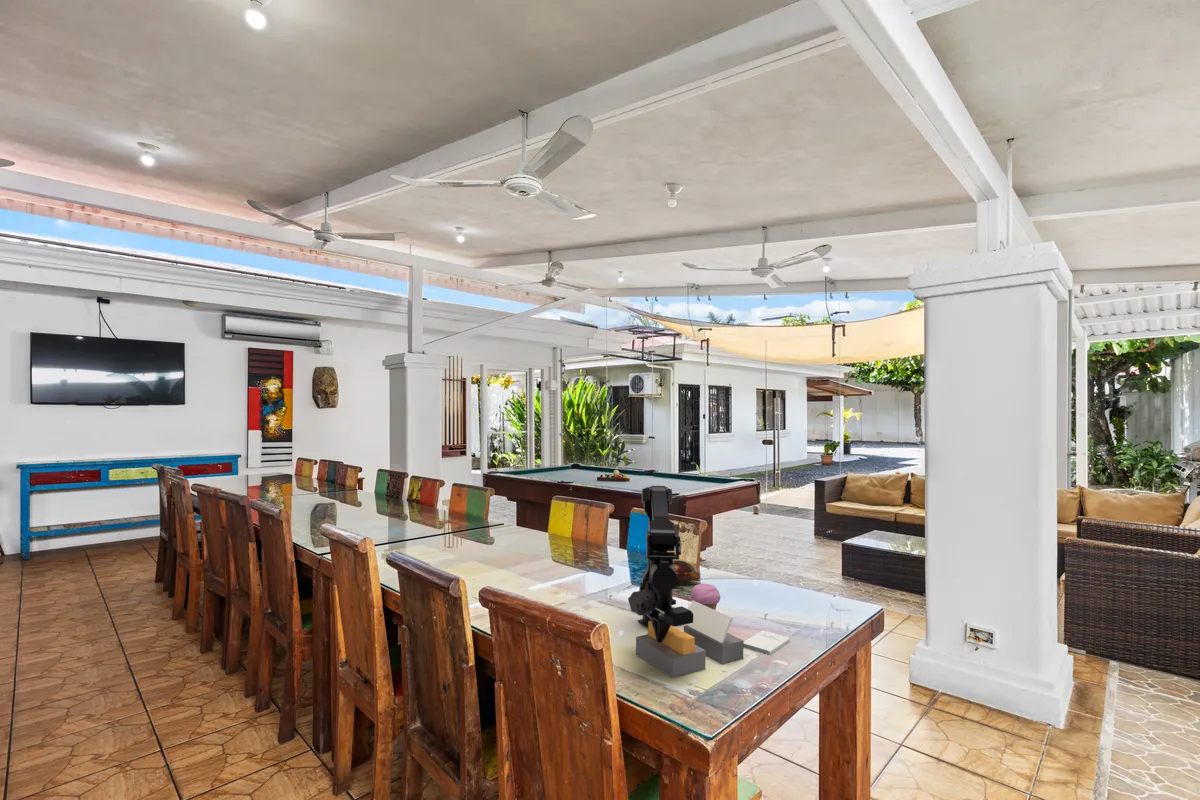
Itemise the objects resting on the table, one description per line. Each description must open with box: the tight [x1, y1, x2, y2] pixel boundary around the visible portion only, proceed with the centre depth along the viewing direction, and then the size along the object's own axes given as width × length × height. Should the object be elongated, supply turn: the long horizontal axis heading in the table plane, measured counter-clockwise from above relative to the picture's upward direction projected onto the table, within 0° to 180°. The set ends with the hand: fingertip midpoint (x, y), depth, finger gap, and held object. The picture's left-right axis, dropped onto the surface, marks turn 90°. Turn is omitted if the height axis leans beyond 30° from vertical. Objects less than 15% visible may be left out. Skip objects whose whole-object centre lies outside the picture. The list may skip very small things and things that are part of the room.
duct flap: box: [684, 599, 733, 643], centre depth 158 cm, size 15×6×1 cm
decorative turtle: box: [673, 559, 701, 586], centre depth 218 cm, size 10×15×8 cm, turn 72°
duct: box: [635, 625, 745, 679], centre depth 155 cm, size 15×22×4 cm, turn 121°
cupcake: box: [690, 582, 721, 611], centre depth 183 cm, size 9×9×10 cm
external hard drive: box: [743, 630, 791, 656], centre depth 164 cm, size 2×8×12 cm
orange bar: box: [647, 621, 695, 655], centre depth 152 cm, size 14×4×4 cm, turn 32°
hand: (659, 641), depth 150 cm, fingers closed
